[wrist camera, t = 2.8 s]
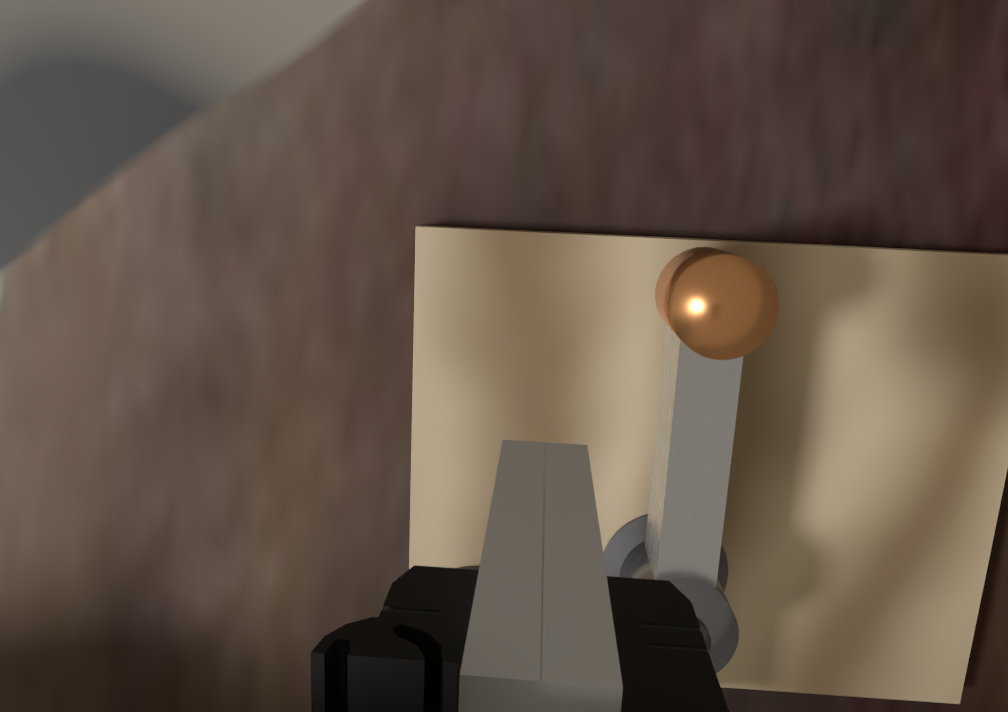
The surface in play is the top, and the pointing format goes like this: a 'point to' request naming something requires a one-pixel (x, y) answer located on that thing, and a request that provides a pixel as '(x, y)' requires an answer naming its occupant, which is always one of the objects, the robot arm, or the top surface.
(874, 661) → the press base
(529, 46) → the top surface
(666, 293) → the lever
